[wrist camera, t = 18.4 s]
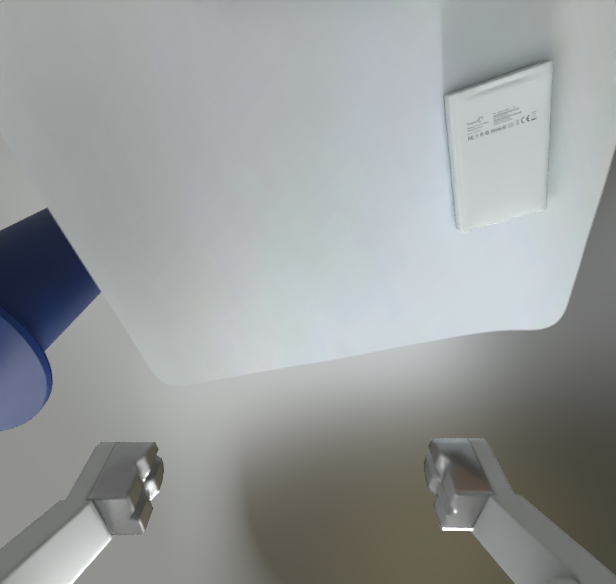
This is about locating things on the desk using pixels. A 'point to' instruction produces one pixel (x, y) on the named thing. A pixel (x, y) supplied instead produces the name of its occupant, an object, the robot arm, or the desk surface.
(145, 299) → the desk surface
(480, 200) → the hard drive
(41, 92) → the desk surface
